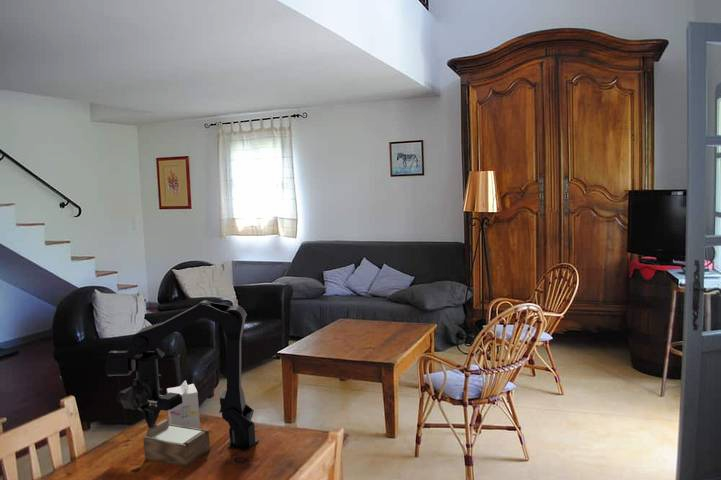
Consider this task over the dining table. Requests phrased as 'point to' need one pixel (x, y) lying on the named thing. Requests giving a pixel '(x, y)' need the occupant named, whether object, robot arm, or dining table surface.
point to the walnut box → (178, 449)
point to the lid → (171, 433)
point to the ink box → (185, 407)
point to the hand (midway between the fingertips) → (151, 427)
